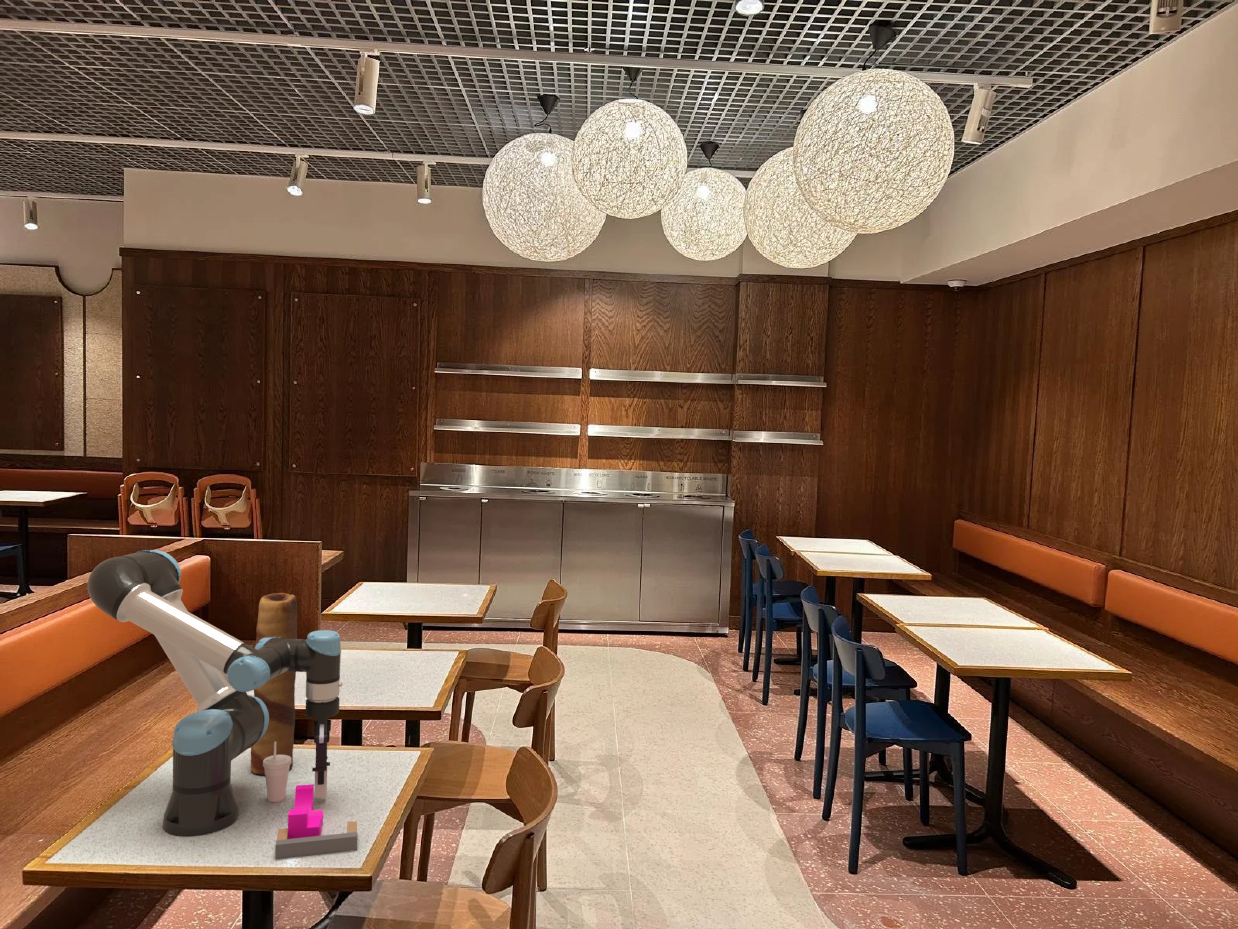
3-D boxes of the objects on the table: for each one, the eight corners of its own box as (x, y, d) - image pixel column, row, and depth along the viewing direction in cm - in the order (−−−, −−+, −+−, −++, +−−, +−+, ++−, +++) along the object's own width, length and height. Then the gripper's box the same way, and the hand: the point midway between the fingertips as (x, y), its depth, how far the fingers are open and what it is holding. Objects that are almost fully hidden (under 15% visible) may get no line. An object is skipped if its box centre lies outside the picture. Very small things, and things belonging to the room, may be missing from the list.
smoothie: (263, 795, 204) (264, 737, 203) (291, 792, 206) (292, 735, 205) (260, 807, 198) (261, 747, 197) (290, 804, 200) (291, 745, 199)
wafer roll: (302, 762, 224) (305, 593, 222) (283, 778, 214) (287, 601, 212) (263, 759, 225) (267, 591, 223) (243, 775, 215) (246, 599, 212)
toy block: (318, 847, 181) (319, 813, 181) (287, 850, 179) (288, 815, 179) (324, 815, 196) (325, 783, 195) (295, 817, 194) (296, 785, 194)
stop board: (275, 861, 174) (275, 845, 174) (277, 845, 181) (278, 829, 181) (356, 852, 179) (357, 836, 179) (356, 837, 186) (356, 821, 186)
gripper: (339, 705, 195) (337, 806, 196) (339, 688, 208) (337, 783, 209) (304, 707, 193) (302, 809, 194) (307, 690, 205) (304, 785, 206)
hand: (320, 795), depth 201 cm, fingers closed
